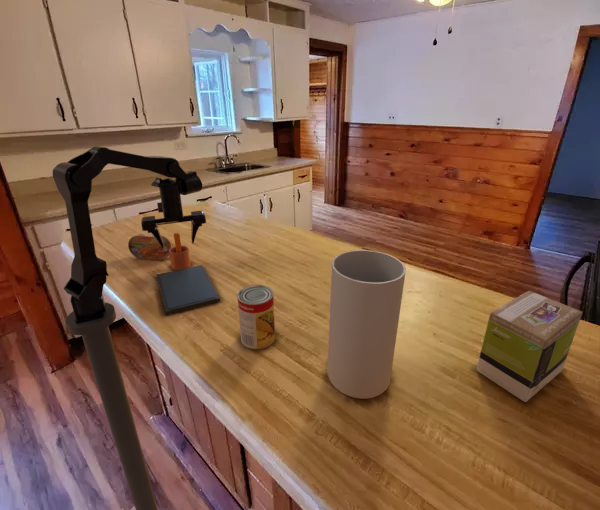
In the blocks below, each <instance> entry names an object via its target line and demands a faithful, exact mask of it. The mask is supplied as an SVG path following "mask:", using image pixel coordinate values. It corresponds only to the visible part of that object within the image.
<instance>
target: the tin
mask: <svg viewBox="0 0 600 510" xmlns="http://www.w3.org/2000/svg"><path fill="white" fill-rule="evenodd" d="M161 238H162V241H163V246H164V248H162V247H161V245H160V243H159V242H158V240H157V239H156V238H155V236H154V235H153V234H144V233H143V234H141V233H140V234H137V235H133V236H132V237H130V238H129V240H128V242H127V247H128V250H129V252H130V254H132V256H133V257H135V258H136V259H141V260H155V261H156V260H157V261H162V260H165V259H166V258H168V257H170V255H169V249H171V248H172V244H171V241H170V240H169V239H168V238H167V237H165V236H164V235H161Z"/></svg>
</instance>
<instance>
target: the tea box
mask: <svg viewBox="0 0 600 510" xmlns="http://www.w3.org/2000/svg"><path fill="white" fill-rule="evenodd" d="M583 312H584V311H582V310H579V309H577V308H574V307H572V306H569V305H567V304H564V303H561V302H560V301H556V300H554V299H552V298H549V297H547V296H544V295H542V294H539V293H537V292H534V291H532V290H528V291H526V292H524V293H522V294H520V295H518V296H517V297H515V298H513V299H511V300H510V301H508V302H506V303H504V304H503V305H501V306H499V307H497V308H496V309H494V310H493V311H491V312H490V313H489V316H488V319H487V323H486V329H485V332H484V335H483V336H484V337H483V340H482V345H481V349H480V353H479V358H478V361H477V366H476V371H477V372H478V373H480V374H481V375H483V376H484V377H485V378H487V379H489V380H490V381H492V382H493V383H495V384H496V385H498V386H499V387H501V388H502V389H503V390H505V391H507V392H508V393H510V394H512V395H513V396H514V397H515V398H517V399H519V400H520V401H522V402H524V403H527V402H528V401H529V400H531V399H532V398H533V397H534V396H535V395H536V394H537V393H538V392H539V391H541V390H542V389H543V388H545V386H546V385H547V384H549V383H550V382H551V381H552V380H553V379H555V377H557V376H558V375H559V374H560V373H561V372H562V371H563V370H564V366H565V364H566V361H567V359H568V355H569V352H570V350H571V347H572V344H573V341H574V338H575V336H576V332H577V329H578V327H579V325H580V322H581V319H582V316H583Z"/></svg>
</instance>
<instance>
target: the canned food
mask: <svg viewBox="0 0 600 510" xmlns="http://www.w3.org/2000/svg"><path fill="white" fill-rule="evenodd" d="M236 295H237V307H238V308H237V309H238V318H239V321H238V322H239V331H240V341H241V344H242V345H243V346H244V347H245V348H248V349H251V350H261V349H265V348H268V347H269V346H271V345H272V344H273V343H274V341H275V339H276V329H275V299H274V298H275V297H274V291H273V289H272V287H271V288H270V287H269V286H267V285H264V284H251V285H247V286H245V287H243V288H240V290H238V292H237V294H236Z"/></svg>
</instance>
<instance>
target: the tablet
mask: <svg viewBox="0 0 600 510" xmlns="http://www.w3.org/2000/svg"><path fill="white" fill-rule="evenodd" d="M156 278H157V282H158V287H159V291H160V296H161V300H162V304H163V307H164V312H165V316H168V315H172V314H176V313H180V312H184V311H185V312H186V311H189V310H193V309H196V308H201V307H204V306H208V305H213V304H216V303H219V302H221V298H220V295H219V294H218V292H217V290H216V288H215V286H214V285H213V282H212V281H211V279H210V277H209V275H208V272H207V271H206V270H205V267H204V265H203V264H200V265H195V266H190V267H188V268H185V269H181V270H170V271H167V272H161V273H157V274H156Z"/></svg>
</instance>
